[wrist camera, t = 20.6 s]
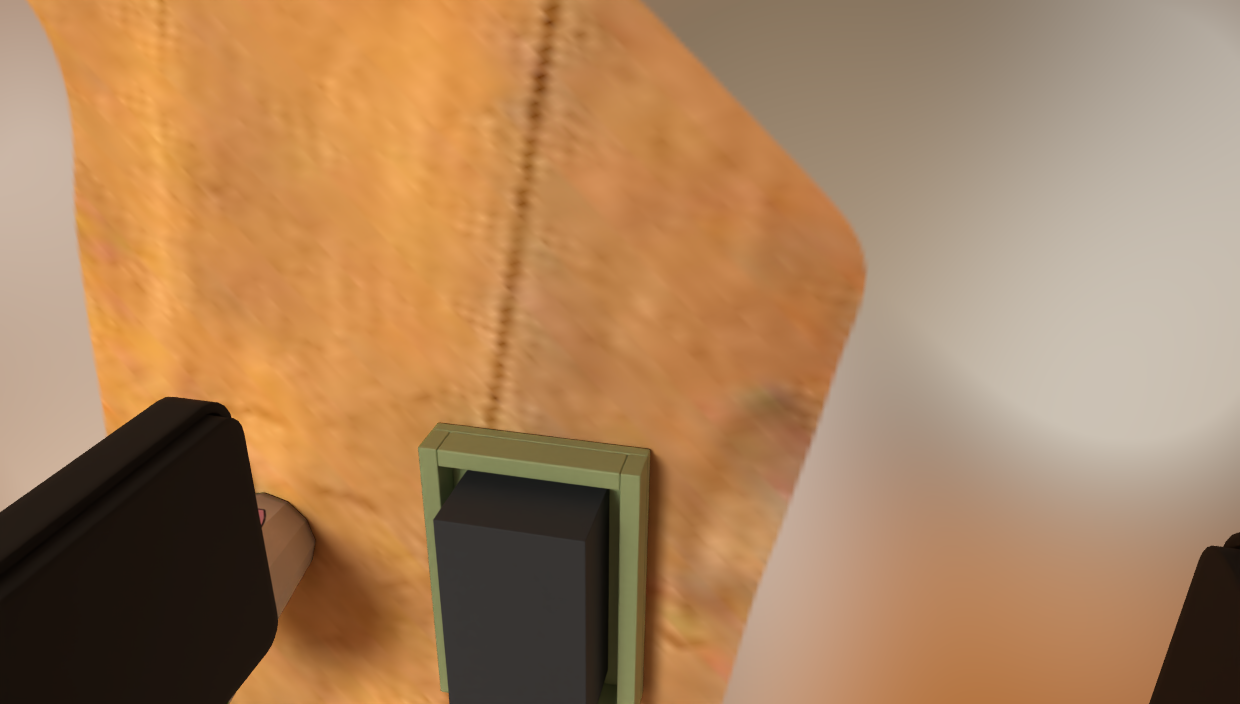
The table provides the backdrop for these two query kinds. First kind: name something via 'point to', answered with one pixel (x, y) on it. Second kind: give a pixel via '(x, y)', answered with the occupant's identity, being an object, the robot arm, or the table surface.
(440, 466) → the green tray
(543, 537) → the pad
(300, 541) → the cup
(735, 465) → the table surface
